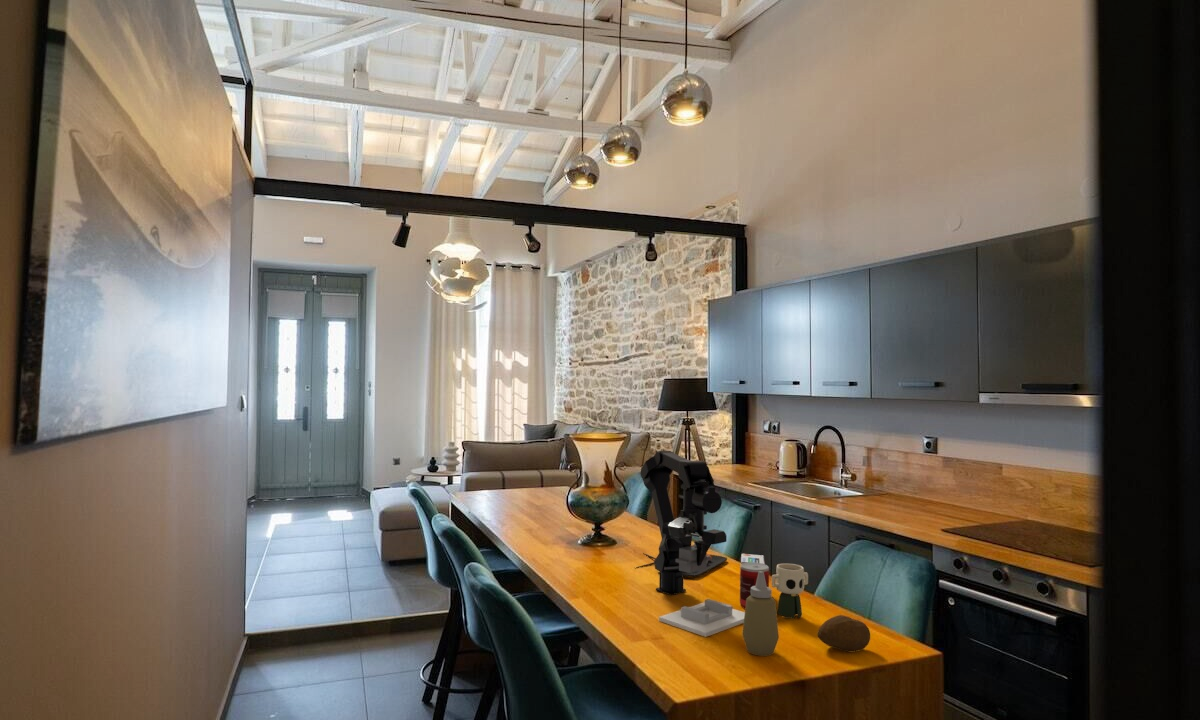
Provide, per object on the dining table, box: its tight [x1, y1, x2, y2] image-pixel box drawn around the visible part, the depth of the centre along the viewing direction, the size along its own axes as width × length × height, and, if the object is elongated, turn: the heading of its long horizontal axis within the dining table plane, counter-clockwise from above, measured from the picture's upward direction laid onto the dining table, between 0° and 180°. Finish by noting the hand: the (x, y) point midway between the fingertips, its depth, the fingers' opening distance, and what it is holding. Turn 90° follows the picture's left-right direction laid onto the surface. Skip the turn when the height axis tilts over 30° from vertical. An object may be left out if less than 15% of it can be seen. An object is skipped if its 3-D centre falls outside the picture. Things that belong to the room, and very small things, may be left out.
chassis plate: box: [658, 598, 745, 638], centre depth 183 cm, size 15×20×3 cm
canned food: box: [739, 563, 770, 609], centre depth 195 cm, size 8×8×11 cm
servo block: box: [675, 543, 710, 573], centre depth 196 cm, size 4×10×7 cm, turn 134°
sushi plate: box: [635, 552, 728, 577], centre depth 239 cm, size 29×30×4 cm
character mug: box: [771, 563, 809, 619], centre depth 187 cm, size 11×7×13 cm, turn 108°
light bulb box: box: [740, 553, 766, 565], centre depth 205 cm, size 11×7×11 cm, turn 168°
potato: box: [816, 614, 871, 652], centre depth 164 cm, size 8×12×8 cm, turn 103°
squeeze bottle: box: [742, 572, 780, 657], centre depth 162 cm, size 8×8×18 cm
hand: (692, 563), depth 195 cm, fingers closed on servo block, 4 cm apart
